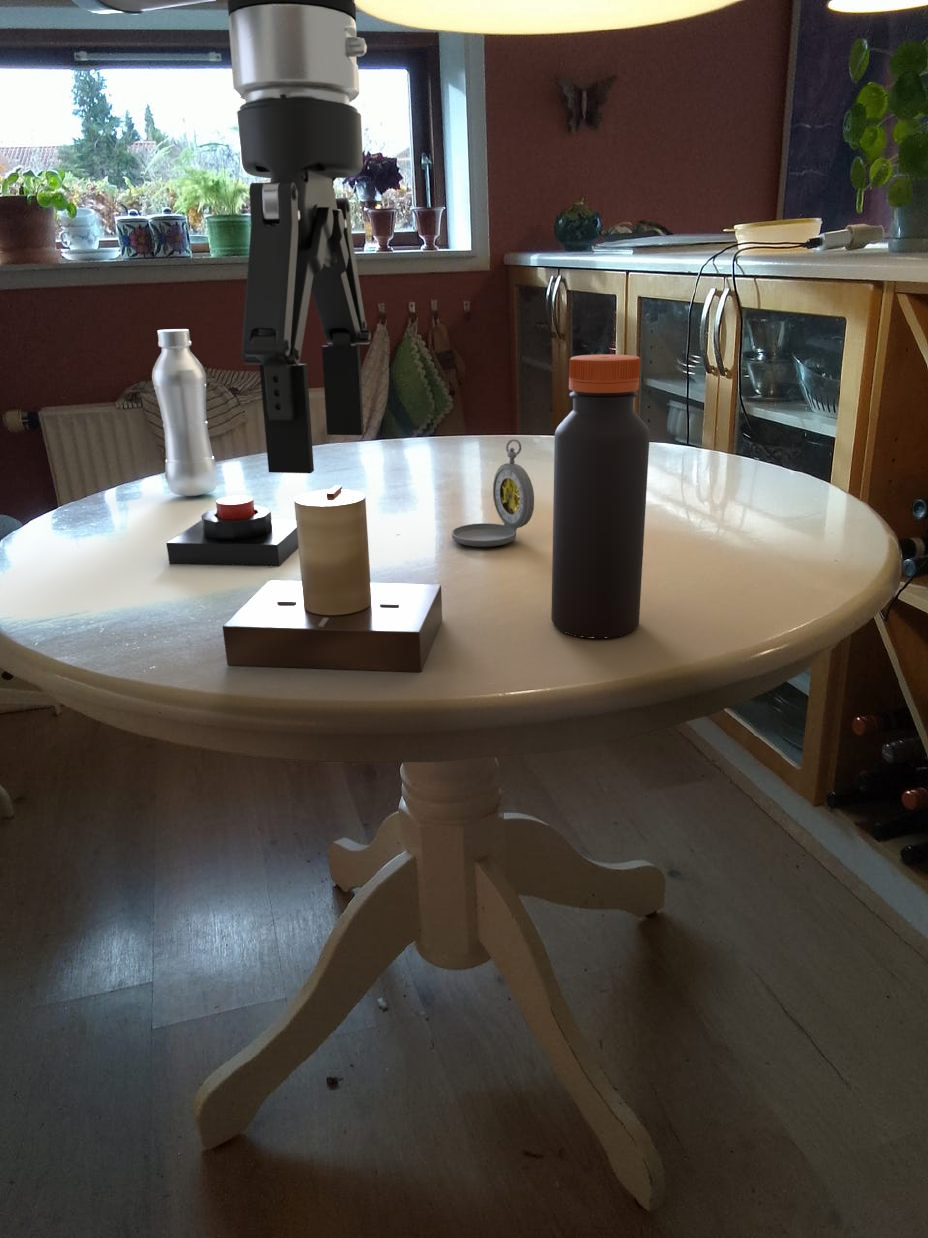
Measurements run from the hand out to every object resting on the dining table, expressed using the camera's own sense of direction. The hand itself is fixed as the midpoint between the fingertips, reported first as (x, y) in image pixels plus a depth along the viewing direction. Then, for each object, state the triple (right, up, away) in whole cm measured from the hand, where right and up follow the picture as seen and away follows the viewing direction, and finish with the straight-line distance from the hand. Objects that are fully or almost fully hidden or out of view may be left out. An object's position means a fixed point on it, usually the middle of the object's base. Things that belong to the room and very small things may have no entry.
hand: (321, 451), depth 62 cm
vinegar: (+20, -12, +7) cm, 25 cm away
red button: (-12, -2, +26) cm, 29 cm away
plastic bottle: (-24, +4, +51) cm, 57 cm away
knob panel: (+1, -13, +5) cm, 14 cm away
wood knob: (+1, -10, +4) cm, 11 cm away
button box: (-12, -5, +27) cm, 30 cm away
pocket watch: (+13, -4, +30) cm, 33 cm away
